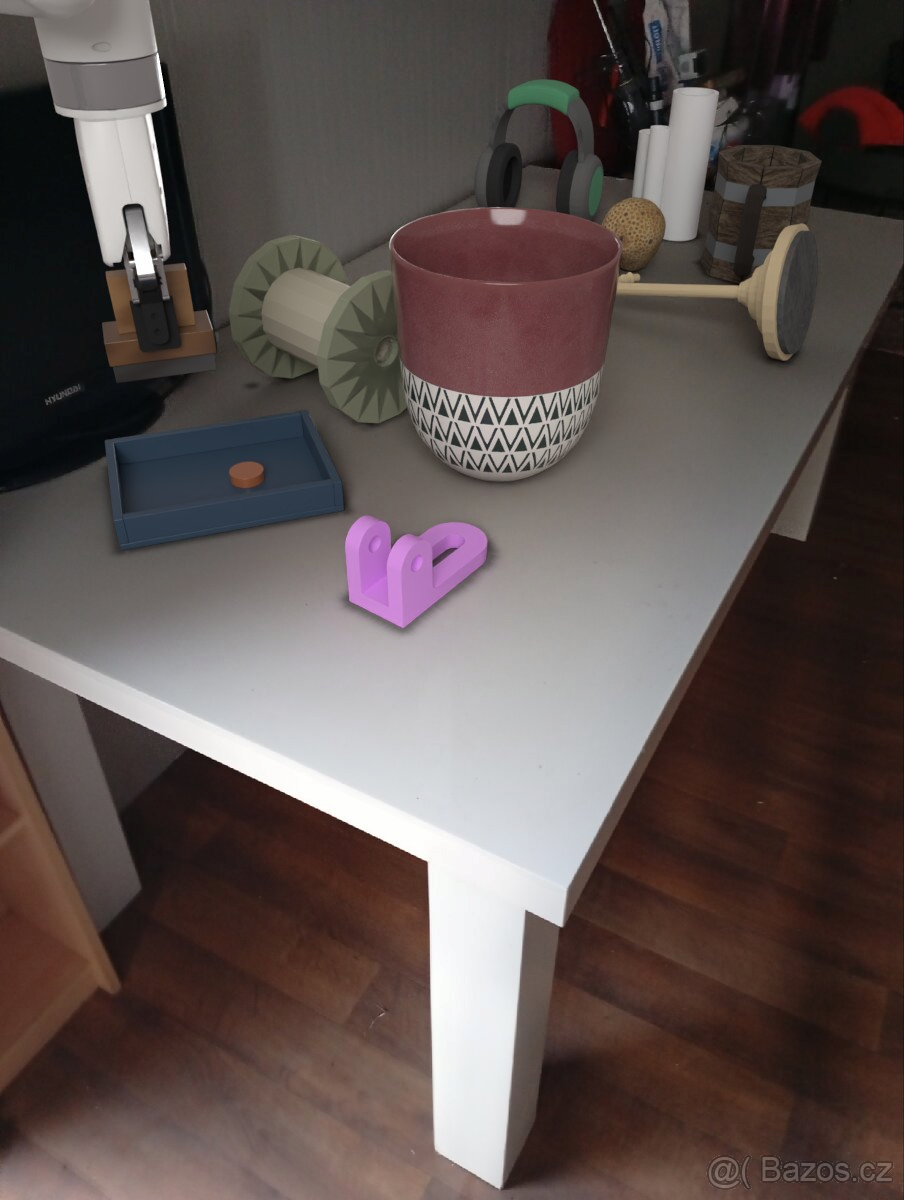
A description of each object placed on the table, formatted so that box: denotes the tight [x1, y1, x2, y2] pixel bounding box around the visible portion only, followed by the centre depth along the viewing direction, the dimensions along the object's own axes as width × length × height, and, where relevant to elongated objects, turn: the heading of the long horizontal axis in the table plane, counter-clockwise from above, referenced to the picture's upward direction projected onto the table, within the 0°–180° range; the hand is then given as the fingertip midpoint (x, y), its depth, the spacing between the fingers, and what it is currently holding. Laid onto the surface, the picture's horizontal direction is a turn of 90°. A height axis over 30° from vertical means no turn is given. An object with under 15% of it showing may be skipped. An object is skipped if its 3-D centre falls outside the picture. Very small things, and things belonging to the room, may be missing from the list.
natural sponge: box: [600, 197, 666, 272], centre depth 133 cm, size 9×9×10 cm
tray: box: [104, 409, 345, 551], centre depth 88 cm, size 20×15×3 cm
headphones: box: [473, 78, 605, 222], centre depth 148 cm, size 19×11×20 cm, turn 66°
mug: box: [700, 144, 823, 285], centre depth 130 cm, size 20×14×15 cm
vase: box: [631, 86, 720, 242], centre depth 143 cm, size 11×7×20 cm, turn 61°
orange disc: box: [229, 462, 265, 488], centre depth 89 cm, size 3×3×1 cm
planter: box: [389, 207, 623, 482], centre depth 86 cm, size 20×20×21 cm
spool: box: [228, 234, 408, 424], centre depth 100 cm, size 16×15×15 cm
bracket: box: [344, 514, 488, 629], centre depth 76 cm, size 13×6×7 cm, turn 143°
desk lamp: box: [616, 223, 819, 362], centre depth 113 cm, size 15×35×40 cm
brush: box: [101, 262, 218, 384], centre depth 76 cm, size 8×4×8 cm, turn 108°
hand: (157, 333), depth 77 cm, fingers closed on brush, 4 cm apart
